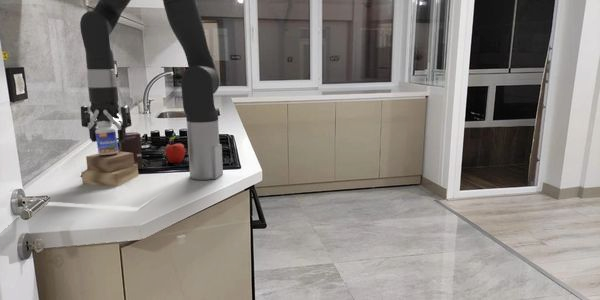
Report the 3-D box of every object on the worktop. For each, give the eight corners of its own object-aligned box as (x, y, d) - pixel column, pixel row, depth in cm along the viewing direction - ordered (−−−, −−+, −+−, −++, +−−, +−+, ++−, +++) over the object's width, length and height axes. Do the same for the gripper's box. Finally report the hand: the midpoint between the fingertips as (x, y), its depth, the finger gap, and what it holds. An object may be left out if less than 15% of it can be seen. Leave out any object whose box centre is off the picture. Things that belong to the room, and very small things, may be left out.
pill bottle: (100, 156, 119) (94, 122, 118) (97, 154, 124) (92, 121, 122) (120, 153, 122) (115, 120, 120) (117, 151, 126) (112, 119, 125)
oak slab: (138, 176, 129) (137, 164, 128) (118, 187, 118) (117, 173, 117) (105, 175, 130) (104, 163, 129) (82, 185, 120) (81, 172, 119)
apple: (163, 162, 145) (160, 134, 143) (182, 159, 149) (180, 132, 147) (170, 166, 139) (168, 137, 137) (190, 163, 143) (188, 135, 141)
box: (123, 173, 131) (120, 135, 129) (121, 170, 135) (117, 133, 133) (143, 170, 135) (140, 133, 132) (140, 167, 138) (137, 131, 136)
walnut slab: (134, 165, 126) (133, 152, 125) (109, 173, 118) (108, 159, 117) (113, 163, 130) (111, 150, 129) (87, 169, 122) (86, 156, 121)
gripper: (133, 85, 121) (137, 140, 124) (88, 84, 123) (94, 138, 127) (118, 86, 114) (123, 144, 117) (71, 86, 116) (77, 143, 119)
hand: (108, 141), depth 122 cm, fingers open, 8 cm apart
